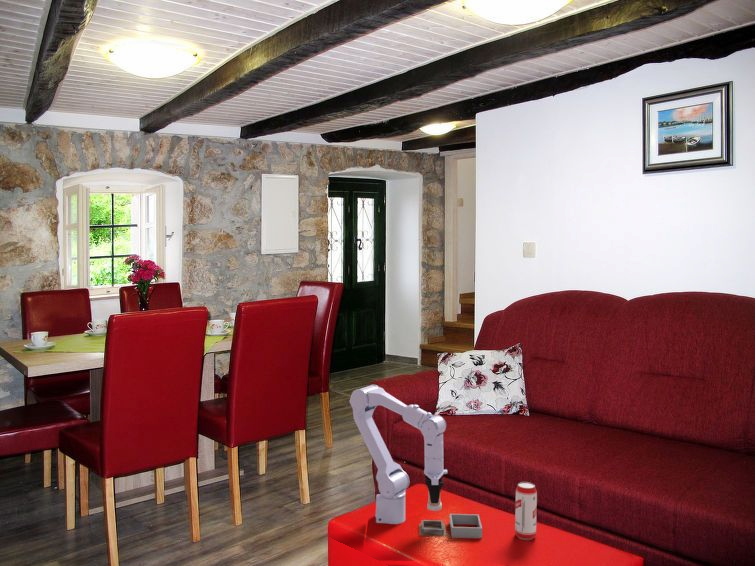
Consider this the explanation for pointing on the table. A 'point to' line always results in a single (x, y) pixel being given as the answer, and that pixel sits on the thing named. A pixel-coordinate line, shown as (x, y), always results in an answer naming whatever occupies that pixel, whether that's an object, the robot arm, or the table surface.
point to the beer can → (525, 511)
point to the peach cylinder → (433, 504)
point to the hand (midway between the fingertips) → (434, 500)
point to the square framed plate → (432, 528)
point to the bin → (465, 531)
